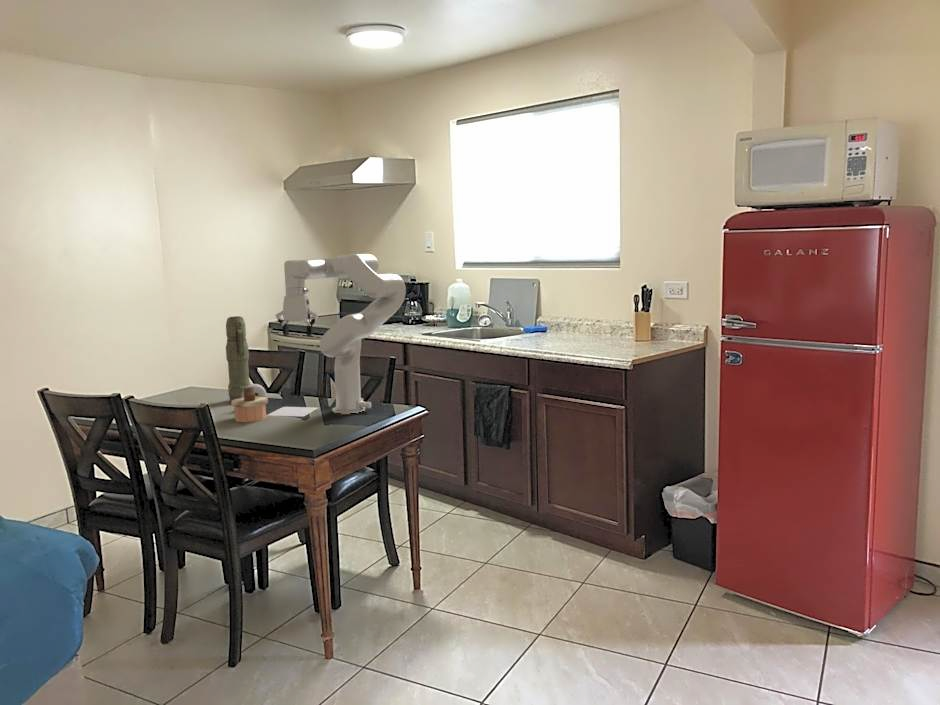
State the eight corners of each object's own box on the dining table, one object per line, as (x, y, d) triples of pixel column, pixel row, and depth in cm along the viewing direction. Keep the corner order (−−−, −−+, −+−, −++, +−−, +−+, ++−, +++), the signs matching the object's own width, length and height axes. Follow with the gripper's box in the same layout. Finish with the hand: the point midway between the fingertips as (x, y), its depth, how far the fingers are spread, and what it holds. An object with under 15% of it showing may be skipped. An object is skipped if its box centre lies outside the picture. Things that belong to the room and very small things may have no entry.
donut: (243, 411, 287) (242, 386, 286) (240, 409, 290) (239, 384, 289) (268, 407, 293) (267, 382, 291) (265, 406, 296) (264, 381, 294)
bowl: (271, 416, 278) (270, 400, 277) (257, 423, 267) (256, 407, 266) (244, 415, 280) (243, 399, 279) (229, 422, 269) (228, 406, 268)
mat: (319, 408, 290) (319, 407, 290) (303, 417, 275) (303, 416, 275) (283, 407, 293) (283, 406, 293) (266, 416, 278) (266, 415, 278)
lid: (274, 400, 278) (273, 385, 277) (258, 407, 265) (257, 392, 264) (242, 399, 280) (241, 384, 279) (224, 406, 268) (223, 391, 267)
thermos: (236, 404, 299) (231, 318, 294) (224, 400, 308) (218, 316, 303) (257, 401, 305) (251, 317, 300) (244, 397, 314) (239, 315, 309)
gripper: (320, 291, 289) (322, 334, 292) (279, 291, 293) (281, 334, 295) (312, 292, 282) (314, 337, 285) (270, 292, 285) (273, 336, 288)
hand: (297, 335), depth 290 cm, fingers open, 9 cm apart
